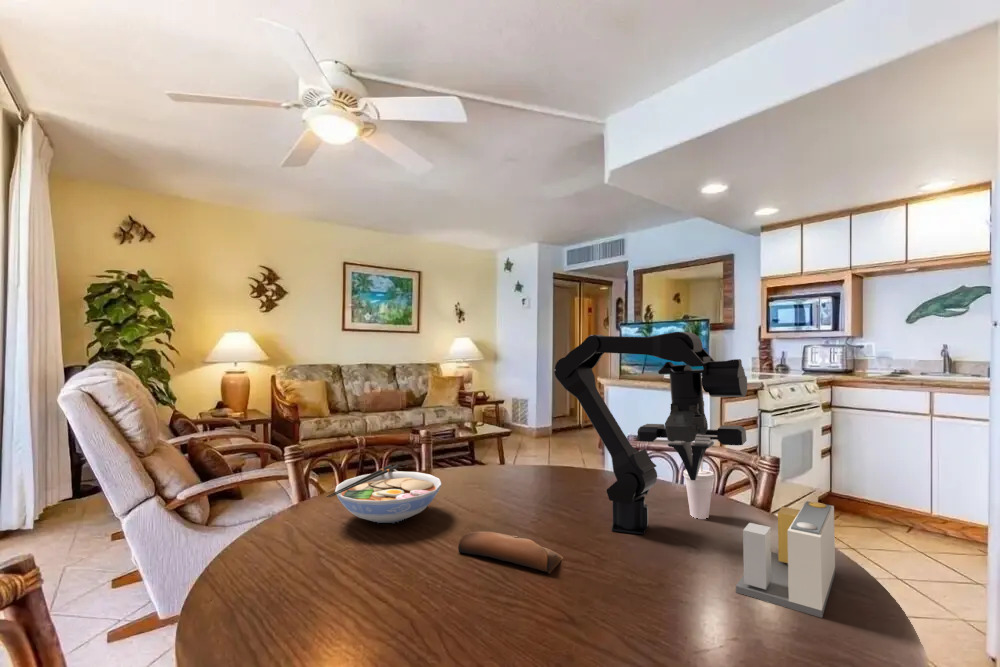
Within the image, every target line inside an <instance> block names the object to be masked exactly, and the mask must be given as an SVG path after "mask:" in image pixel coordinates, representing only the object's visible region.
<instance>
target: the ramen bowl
mask: <svg viewBox="0 0 1000 667" xmlns="http://www.w3.org/2000/svg"><path fill="white" fill-rule="evenodd" d="M398 467H399V465H397V464H396V465H393V466H392V464H388V465H386V466H383V467H382V468H380V469H378V470H376V471H374V472H372V473H369V474H368V473H367V474H362V475H358V476H355V477H351V478H349V479H348V478H347V479H345V480H343V481H342V482H340V483H339V484H337V485H336V487H335V490H334V492H333V493H331V494H329V495H326V498H333V497H334V496H336V497H337V498H338V500H339V502H340V503H341V505H343V507H345V509H346V510H347V511H348V512H349V513H351V514H353V516H355V517H357V518H359V519H363V520H366V521H371V522H374V523H375V522H377V523H376V524H379V523H392V524H396V523H395V522H397V523H400V522H399V521H401V522H402V520H403V521H405V520H407V519H408V518H411V517H413V516H416V515H417V514H419V513H421V512H423V511H424V510H425V509H427V508H428V506H429V505H430V504H431V502H432V501H433V500H434V499H435V497H436V496H437V494H438V493H439V491H440V489H441V486H442V484H443V483H442V482H441V479H440V478H439V477H437V476H435V475H432V474H429V473H424V472H419V471H418V472H417V471H398V470H397V469H398ZM395 470H397V471H395ZM404 519H405V520H404Z"/></svg>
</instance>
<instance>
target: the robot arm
mask: <svg viewBox="0 0 1000 667" xmlns="http://www.w3.org/2000/svg"><path fill="white" fill-rule="evenodd" d="M606 353H607V354H622V355H623V354H625V355H626V354H627V355H647V356H650V357H654V358H659V359H662V360H666V362H665V364H664V365H663V366H662V368H660V369H659V370H658V372H657V373H658V374H659V375H669V387H670V398H671V403H670V413H669V416H668V417H667V418H666V420H665V423H664V424H663V423H645V424H643V425H641V426H639V428H638V430H637V433H636V434H637V441H638V442H644V443H645V442H650V443H653V442H655V441H656V440H657V439H658V438H661V439H663V438H664V439H665V438H666V440H667V441H668V444H667V446H668V448H669V447H670V448H673V449H674V450H675V451H676V452H677V453H678V456H679V457H680V459H681V460H682V463H683V465H684V468H685V470H687V472H688V475H689V477H690V479H691V480H696V479H697V475H698V472H699V469H700V465H701V461H702V458H704V455H705V454H706V451H707V449H710V448H711V447H712V446H713V445H715V444H714V443H715V442H714V441H713V440H715V441H718V442H719V443H720V444H721V445H723V446H743V445H744V444H745V443H747V431H746V428H745V427H743V426H742V425H725V424H724V425H721V426H719V427H718V428H717V429H712V428H711V429H708V428H709V426H708V425H709V424H708V419H707V416H706V413H705V401H704V394H703V392H705V393H708V395H709V396H710V397H711V398H732V397H733V398H745V397H746V395H747V393H748V378H747V377H748V376H746V372H745V369H744V367H743V364H742V363H743V362H742V359H740V358H736V359H728V360H719V361H718V360H717V361H715V360H714V358H712V357H711V355H710V354H709V353H708V352H707V351H706V349H705V348H704V347H703V342H702V339H701V338H700V337H699V336H698V335H697V334H695V333H693V332H689V331H674V332H667V333H661V334H656V335H651V336H624V335H623V336H622V335H621V336H616V335H612V336H611V335H610V336H609V335H607V336H606V335H603V334H590V335H588V336H587V337H586V338H585V339H584V340H583V341H582V342H581V343H580V344H579V345H578V346H576V347H574V349H572V350H571V351H570V352H568V353H567V355H565V356H564V357H561V358H560V359H559V360H557V361H556V363H555V366H554V370H553V374H554V377H555V379H556V380H557V381H558V382H559V384H560V385H561V386H562V387H563V388H564V389H565V391H567V392H568V393H570V394H571V395H572V396H573V397H575V398H576V400H577V401H578V402H579V404H580V406H581V408H582V410H583V411H584V413H585V415H586V416H587V418H588V419H589V421H590V422H591V425H592V427H593V428H594V429H595V431H596V433H597V435H598V436H599V438H600V439H601V441H602V443H603V445H604V446H605V448H606V450H607V451H608V453H609V454H610V458H611V464H612V471H613V474H614V476H615V478H616V481H615V482H613V484H611V485H610V486H609V487H608V488H607V489H606V494H607V497H608V500H609V501H612V525H611V528H610V529H611V531H613V532H619V533H627V534H635V535H637V534H638V535H645V534H646V530H647V529H649V528H648V527H649V505H648V504H646V499H645V498H646V497H645V496H647V495H648V494H649V491H650V489H652V487H653V488H654V487H655V485H656V484H657V479H658V473H657V470H656V467H657V464H655V463H654V462H653V461H652V458H650V456H649V453H648V451H647V449H645V448H644V449H641V450H638V449H637V448H635V447H633V446H632V444H631V443H630V441H629V439H628V438H627V436H626V435H625V433H624V431H623V430H622V428H621V427H620V425H619V423H618V422H617V420H616V418H615V417H614V415H613V414H612V411H611V410H610V409H609V406H608V405H607V404H606V402H605V401H604V399H603V396H601V394H600V393H599V390H598V389H597V386H596V377H595V374H594V372H593V369H594V368H595V367H596V366H597V365H598V363H599V362H600V359H601V358H602V356H603V355H604V354H606ZM673 362H675V363H684V364H677V365H676V364H674V363H673ZM694 367H695V368H696V367H702V368H703V369H692V368H694ZM693 442H694V443H693ZM691 443H693V444H691Z"/></svg>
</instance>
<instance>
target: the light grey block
mask: <svg viewBox="0 0 1000 667" xmlns="http://www.w3.org/2000/svg"><path fill="white" fill-rule="evenodd" d="M771 528H772V527H771V526H767V525H763V524H757V523H754V522H748V524H747V525H746V526H745V527H744V529H742V540H743V541H742V542H743V544H742V545H743V548H742V550H743V551H742V552H743V554H742V555H743V557H742V558H743V575H744V584H748V585H751V586H755V587H759V588H762V589H767V587H768V585H769V583H770V581H771V580H772V576H771V552H772V534H771V533H772V531H771V530H772V529H771Z"/></svg>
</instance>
